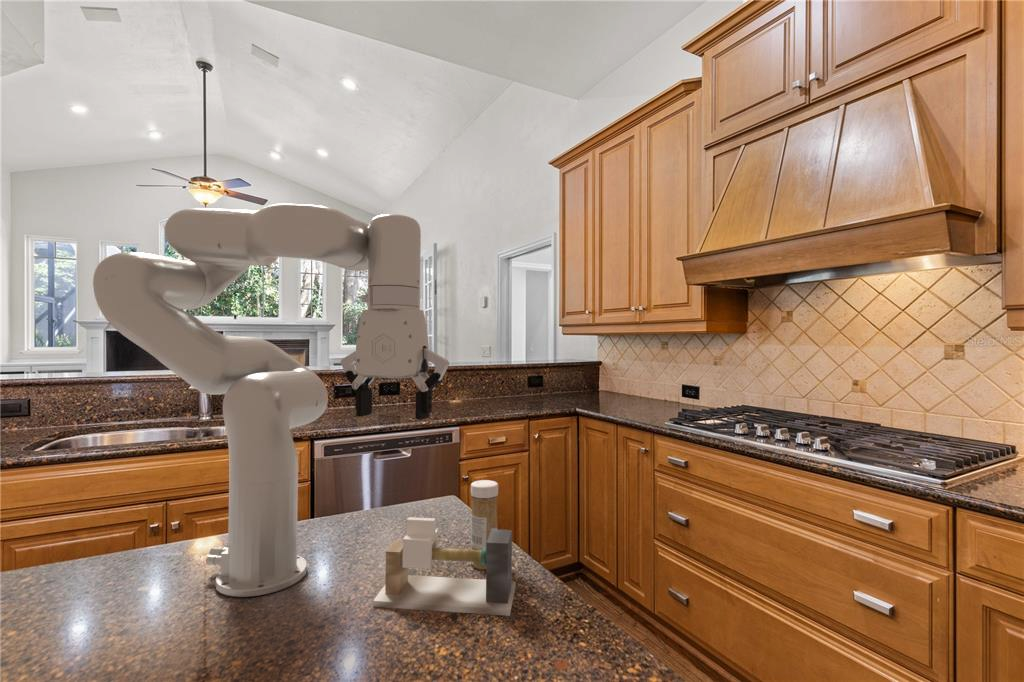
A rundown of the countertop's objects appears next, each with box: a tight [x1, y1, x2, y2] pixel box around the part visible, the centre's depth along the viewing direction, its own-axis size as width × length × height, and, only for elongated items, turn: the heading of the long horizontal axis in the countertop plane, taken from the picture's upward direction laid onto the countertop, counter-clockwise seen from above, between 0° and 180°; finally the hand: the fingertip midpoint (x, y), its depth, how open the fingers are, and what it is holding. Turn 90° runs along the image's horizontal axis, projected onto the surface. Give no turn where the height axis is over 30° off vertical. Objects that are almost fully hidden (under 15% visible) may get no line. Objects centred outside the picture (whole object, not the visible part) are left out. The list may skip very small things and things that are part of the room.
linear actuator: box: [372, 528, 517, 617], centre depth 71 cm, size 19×8×9 cm, turn 84°
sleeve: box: [402, 516, 439, 570], centre depth 71 cm, size 4×4×6 cm
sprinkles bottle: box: [470, 479, 499, 570], centre depth 81 cm, size 5×5×14 cm
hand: (392, 416), depth 72 cm, fingers open, 9 cm apart
